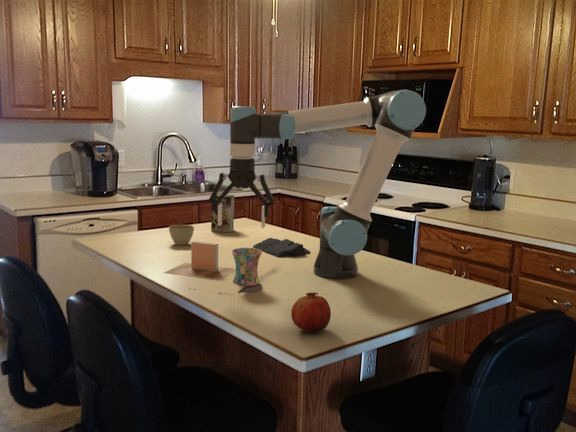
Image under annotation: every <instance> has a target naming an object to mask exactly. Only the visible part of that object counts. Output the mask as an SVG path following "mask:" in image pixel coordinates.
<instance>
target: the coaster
mask: <svg viewBox="0 0 576 432" xmlns="http://www.w3.org/2000/svg"><path fill="white" fill-rule="evenodd" d="M262 288H263V285H262V283H261V282H260V283H259V284H257V285H254V286H246V285H245V286H244V287H242V288H241V289H240V290H238V291H237V292H238V293H254V292H255V293H256V292H258V291H261V290H262Z"/></svg>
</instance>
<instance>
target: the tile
mask: <svg viewBox="0 0 576 432" xmlns="http://www.w3.org/2000/svg"><path fill="white" fill-rule="evenodd" d="M190 247H191V252H190V253H191V268H193V269H201V270H209V271H217V270H218V267H219V243H215V242H208V241H207V242H206V241H198V240H193V241H191V246H190Z"/></svg>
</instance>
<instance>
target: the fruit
mask: <svg viewBox="0 0 576 432" xmlns="http://www.w3.org/2000/svg"><path fill="white" fill-rule="evenodd" d="M331 314H332V312H331V308H330V304H329V302H328V301H327V299H326V298H325V297H323V296H320V295H319V293H318V292H306V293H305V295H304V296H301V297H299V298H298V299H297V300H296V301H295V302H294V304H293V305H292V307H291V319H292V322H293V324H294V325H295V326H296V327H297V328H299V329H300V330H302V331H304V332H306V333H317V332H321V331H323V330H325V329H326V328H327V327H328V325H329V324H330V321H331V317H332V316H331Z"/></svg>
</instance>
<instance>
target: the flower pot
mask: <svg viewBox="0 0 576 432" xmlns="http://www.w3.org/2000/svg"><path fill="white" fill-rule="evenodd" d="M168 229H169V230H168V231H169V234H170V238H171V240H172V242H173V243H174V245H176V246H187V245H189V243H190V241H191V240H192V238H193V235H194V230H195V226H194V225H191V224H173V225H169V226H168Z"/></svg>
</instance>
